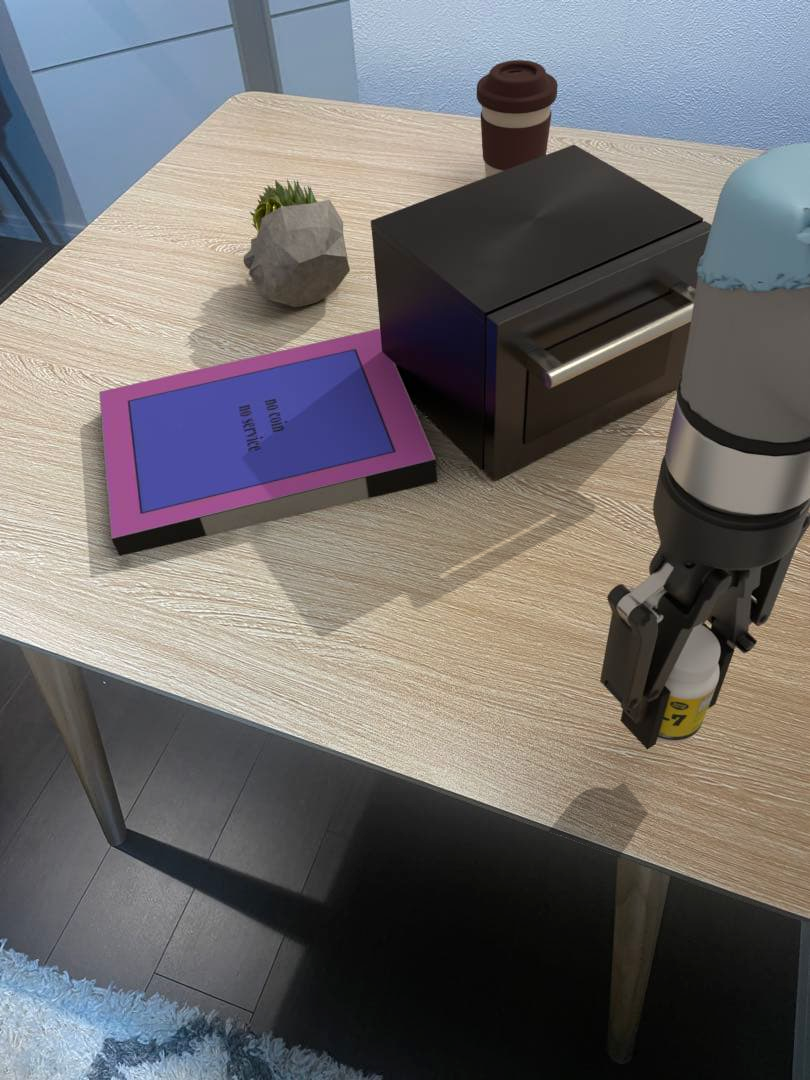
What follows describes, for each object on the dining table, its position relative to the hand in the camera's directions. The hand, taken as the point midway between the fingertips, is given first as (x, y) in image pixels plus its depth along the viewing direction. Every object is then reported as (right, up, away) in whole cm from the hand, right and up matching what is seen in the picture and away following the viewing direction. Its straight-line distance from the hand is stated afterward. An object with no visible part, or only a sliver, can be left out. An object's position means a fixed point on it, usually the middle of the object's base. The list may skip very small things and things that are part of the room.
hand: (668, 712), depth 63 cm
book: (-32, +21, +29) cm, 48 cm away
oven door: (+1, +22, +26) cm, 34 cm away
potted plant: (-31, +42, +47) cm, 70 cm away
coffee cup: (-4, +59, +60) cm, 84 cm away
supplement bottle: (0, 0, 0) cm, 1 cm away
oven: (-6, +29, +33) cm, 45 cm away
